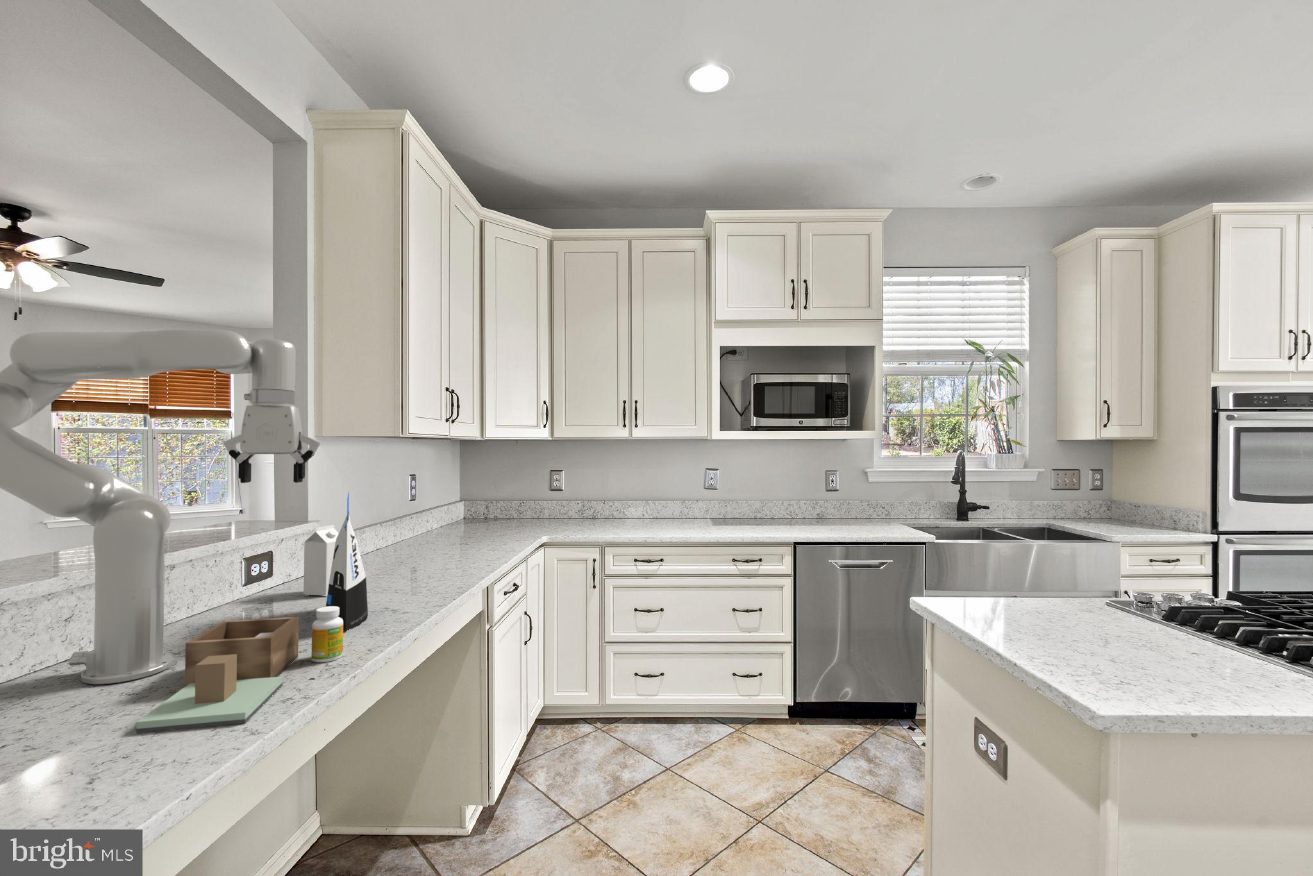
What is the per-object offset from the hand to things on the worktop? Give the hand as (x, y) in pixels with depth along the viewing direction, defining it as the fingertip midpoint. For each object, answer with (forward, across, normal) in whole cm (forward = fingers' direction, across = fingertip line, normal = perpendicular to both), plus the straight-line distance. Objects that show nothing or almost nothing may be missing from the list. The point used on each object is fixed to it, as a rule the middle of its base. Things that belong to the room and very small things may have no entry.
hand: (272, 482), depth 120 cm
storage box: (+34, +1, -13) cm, 37 cm away
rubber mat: (+34, +3, -28) cm, 44 cm away
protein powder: (+35, +9, +20) cm, 41 cm away
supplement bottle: (+34, +13, -8) cm, 38 cm away
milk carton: (+34, -4, +47) cm, 58 cm away
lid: (+34, +3, -28) cm, 44 cm away
